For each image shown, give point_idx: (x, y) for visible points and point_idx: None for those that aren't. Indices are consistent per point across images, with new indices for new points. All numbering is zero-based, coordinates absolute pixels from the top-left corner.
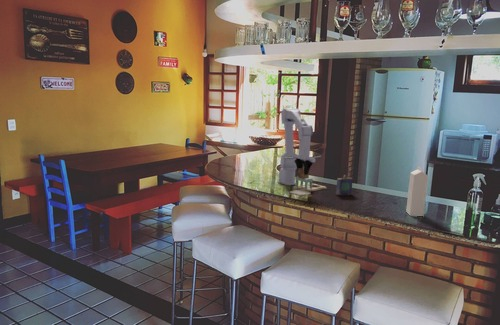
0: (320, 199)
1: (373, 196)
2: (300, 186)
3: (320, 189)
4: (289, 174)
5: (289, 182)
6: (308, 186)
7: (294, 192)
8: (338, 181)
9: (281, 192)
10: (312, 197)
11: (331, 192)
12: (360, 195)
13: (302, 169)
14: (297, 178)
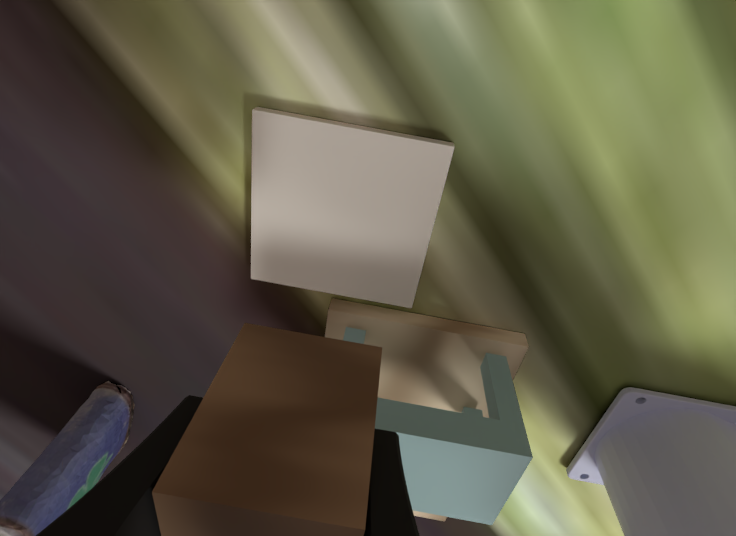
0: (34, 158)
1: (2, 486)
2: (472, 396)
3: None
4: (694, 525)
5: (638, 433)
6: None
7: (381, 156)
8: (7, 499)
9: (552, 61)
10: (138, 164)
11: None
12: None
13: (209, 499)
14: (497, 435)
